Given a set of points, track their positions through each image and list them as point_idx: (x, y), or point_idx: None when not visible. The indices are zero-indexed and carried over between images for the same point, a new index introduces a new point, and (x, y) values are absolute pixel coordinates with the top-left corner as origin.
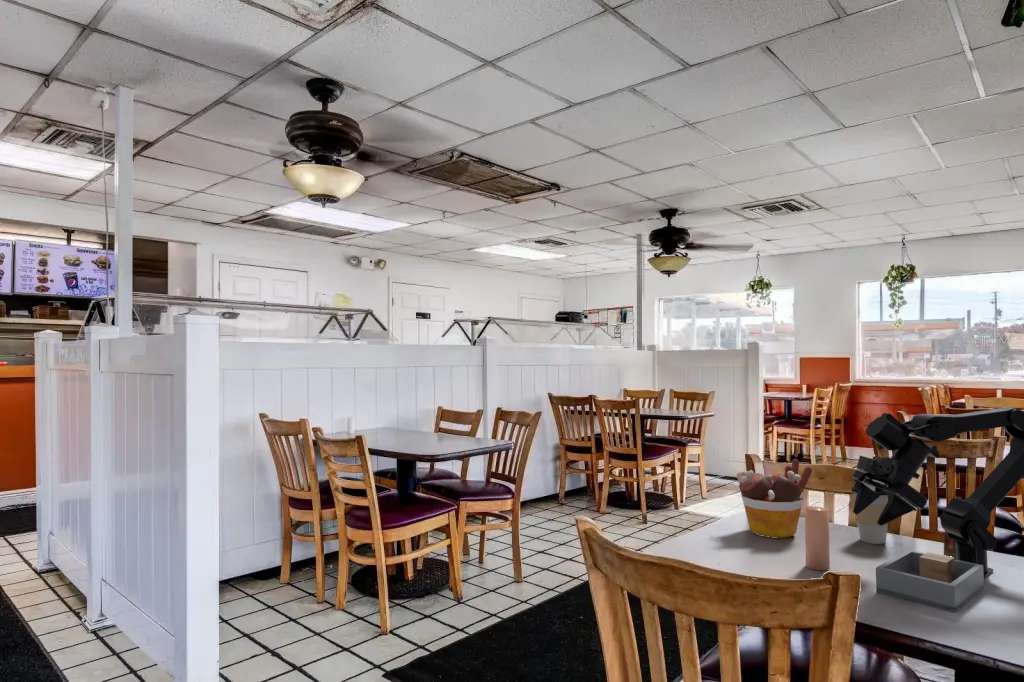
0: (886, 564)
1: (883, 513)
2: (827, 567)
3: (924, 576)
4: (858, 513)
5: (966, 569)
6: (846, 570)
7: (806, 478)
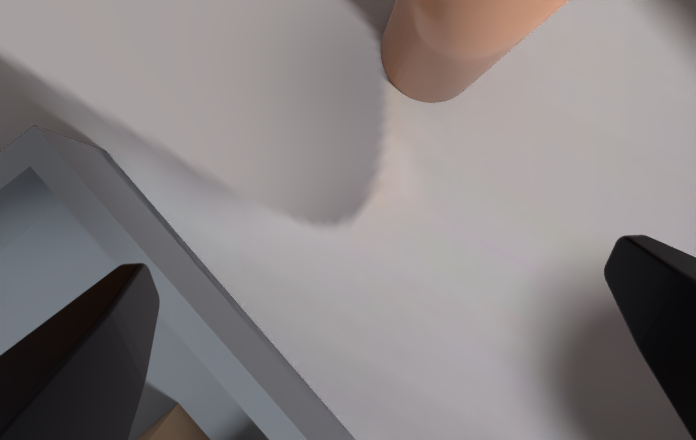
0: (91, 221)
1: (4, 363)
2: (390, 71)
3: (153, 427)
4: (611, 290)
5: None
6: (386, 164)
7: None
